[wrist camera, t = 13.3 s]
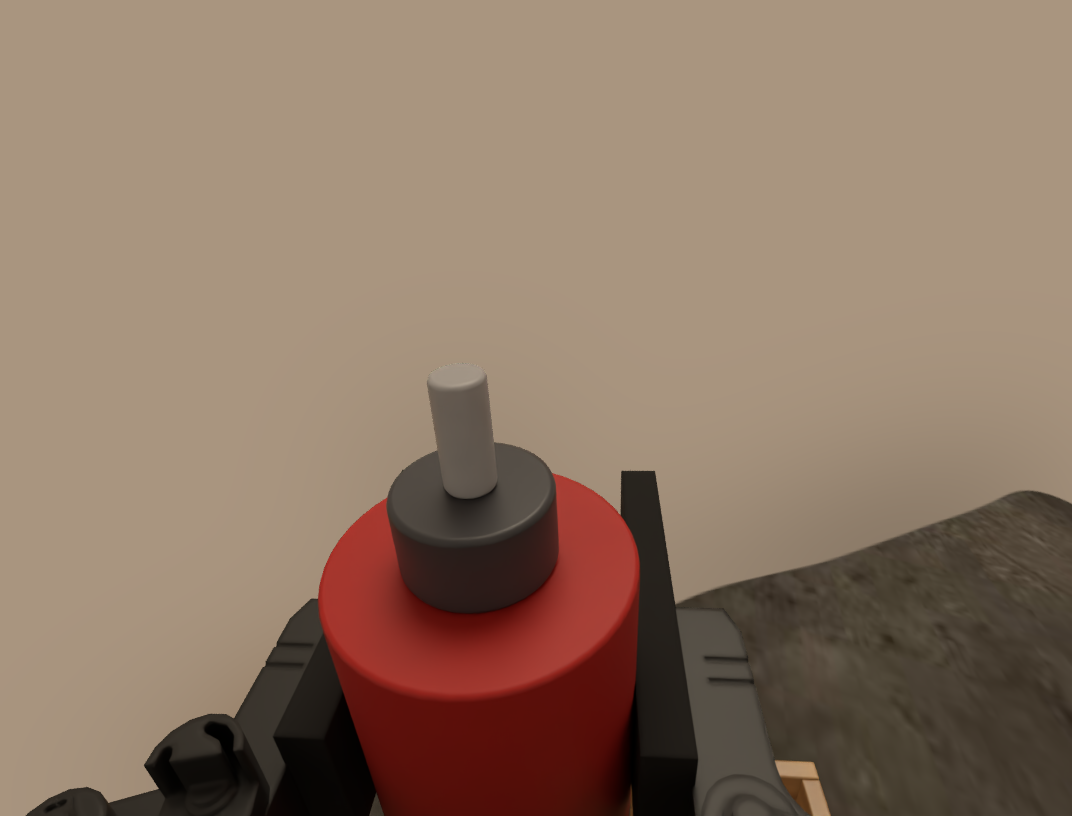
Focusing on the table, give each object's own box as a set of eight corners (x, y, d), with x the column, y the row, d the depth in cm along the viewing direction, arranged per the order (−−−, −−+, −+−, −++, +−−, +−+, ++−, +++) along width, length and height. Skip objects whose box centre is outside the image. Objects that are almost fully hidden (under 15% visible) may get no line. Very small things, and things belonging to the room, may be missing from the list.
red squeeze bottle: (620, 846, 16) (636, 305, 9) (628, 1089, 12) (669, 488, 5) (460, 835, 16) (344, 312, 9) (420, 1066, 13) (159, 486, 5)
